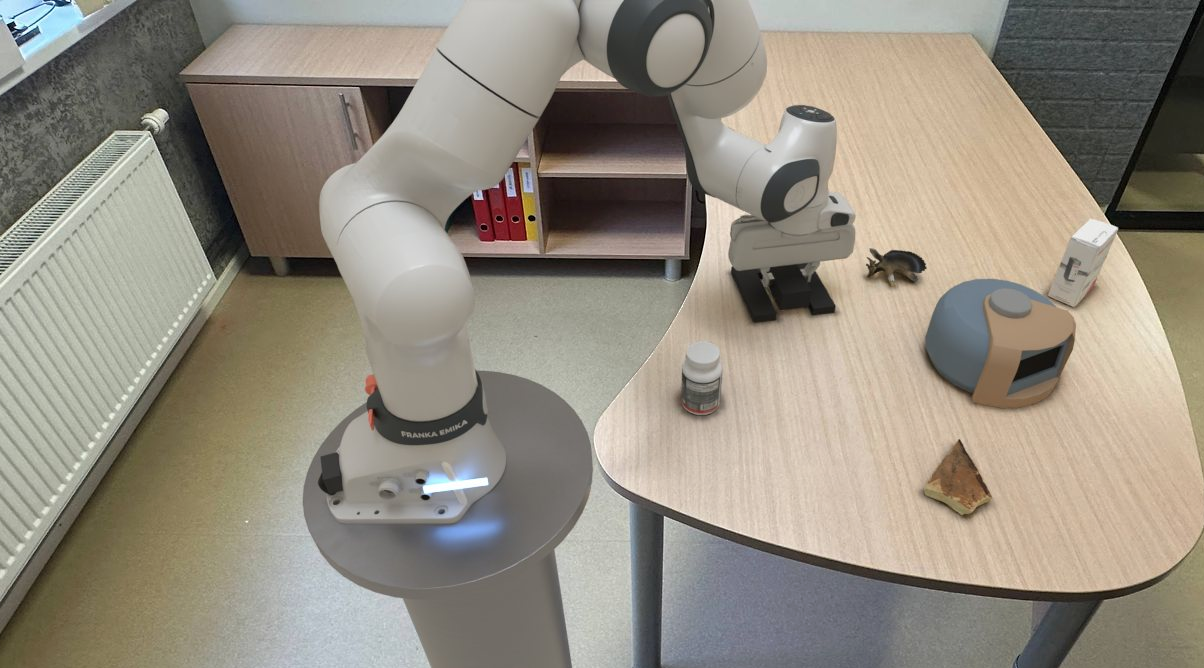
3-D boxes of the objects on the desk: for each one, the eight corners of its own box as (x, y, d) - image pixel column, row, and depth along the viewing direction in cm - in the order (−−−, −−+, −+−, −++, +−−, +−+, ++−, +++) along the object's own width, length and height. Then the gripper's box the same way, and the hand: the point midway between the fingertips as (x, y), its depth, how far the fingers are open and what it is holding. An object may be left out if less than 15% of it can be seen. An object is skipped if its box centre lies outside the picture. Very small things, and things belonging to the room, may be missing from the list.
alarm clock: (984, 423, 112) (1011, 360, 103) (897, 340, 125) (914, 278, 116) (1082, 384, 118) (1115, 321, 109) (989, 309, 131) (1012, 248, 122)
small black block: (779, 311, 128) (782, 293, 125) (762, 275, 135) (764, 258, 132) (809, 307, 128) (811, 290, 126) (789, 272, 135) (792, 255, 133)
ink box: (1065, 274, 138) (1091, 215, 130) (1094, 286, 136) (1122, 227, 128) (1044, 296, 134) (1070, 236, 125) (1073, 308, 131) (1101, 248, 123)
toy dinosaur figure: (876, 292, 132) (929, 282, 131) (870, 250, 131) (924, 239, 130) (866, 288, 139) (916, 279, 139) (860, 248, 138) (911, 239, 138)
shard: (956, 445, 109) (959, 436, 107) (1009, 473, 105) (1013, 464, 104) (920, 492, 102) (923, 483, 101) (975, 523, 99) (979, 515, 98)
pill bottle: (688, 385, 117) (690, 334, 110) (724, 394, 115) (729, 343, 108) (675, 411, 113) (676, 359, 106) (713, 420, 111) (717, 369, 105)
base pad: (753, 323, 127) (754, 315, 126) (730, 273, 137) (731, 266, 136) (834, 312, 130) (836, 305, 129) (806, 264, 140) (807, 257, 138)
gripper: (737, 227, 117) (730, 301, 127) (865, 214, 120) (850, 287, 130) (726, 205, 121) (721, 278, 131) (850, 193, 125) (836, 265, 134)
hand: (786, 282), depth 130 cm, fingers closed on small black block, 5 cm apart
